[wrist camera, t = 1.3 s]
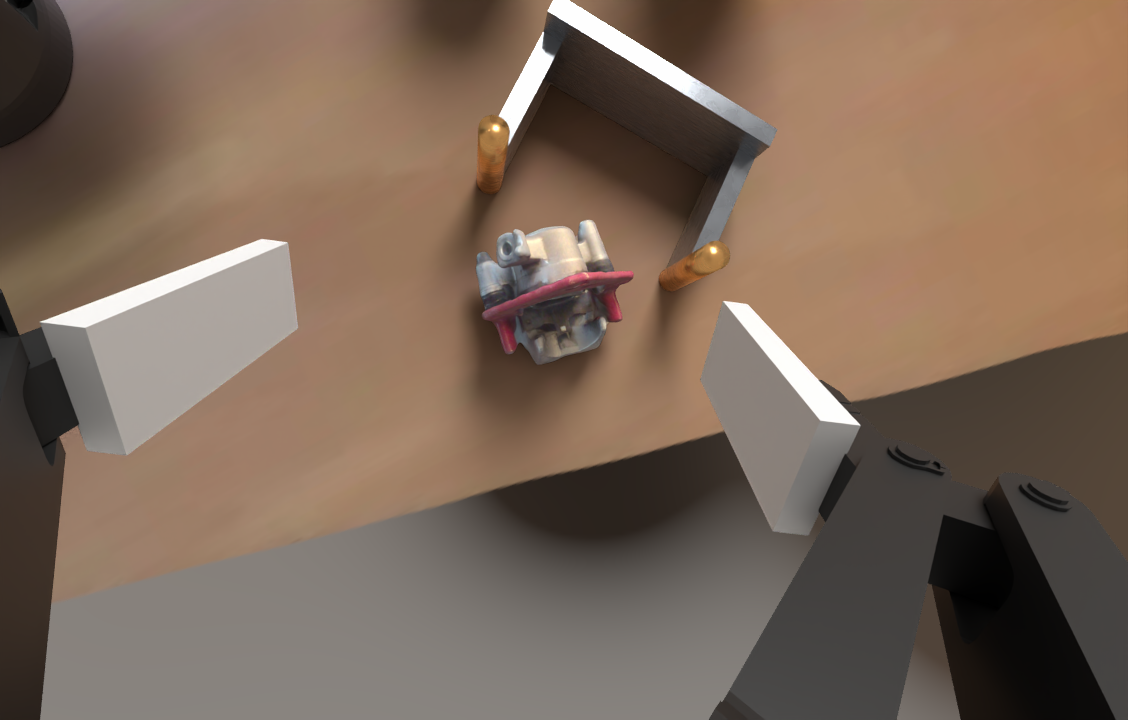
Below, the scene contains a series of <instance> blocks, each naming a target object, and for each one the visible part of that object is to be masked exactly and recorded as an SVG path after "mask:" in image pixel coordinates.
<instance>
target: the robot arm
mask: <svg viewBox="0 0 1128 720" xmlns="http://www.w3.org/2000/svg"><path fill="white" fill-rule="evenodd" d="M72 55H73V51H72V41H71V36H70V32H69V28H68V25H67V22H66V20H65V17H64V15H63V13H62V11H61V9H60V7H59V6H58V4H57V3H56V1H55V0H0V146H3V145H5V144H8V143H10V142H12V141H14V140H16V139H18V138H20V137H21V136H23V135H25V134H26V133H28V132H29V131H31V130H32V129H34V128H35V127H36V126H37V125H38V124H40V123H41V122H42V121H43V120H44V119H45V118H46V117H47V116H48V115H49V114H50V113H51V111H52V110H53V109H54V108H55V106H56V105H57V103H58V102H59V100H60V99H61V97H62V95H63V93H64V91H65V89H66V86H67V84H68V81H69V77H70V73H71V68H72ZM40 324H41V327H40V328H38V329H35V330H32V331H30V332H27V333H25V334H22V335H19V333H18V331H17V328H16V326H15V323H14V320H13V318H12V315H11V313H10V310H9V308H8V305H7V303H6V300H5V297H4V295H3V293H2V291H1V289H0V720H40V714H41V703H42V693H43V682H44V672H45V662H46V651H47V641H48V631H49V621H50V609H51V600H52V589H53V579H54V568H55V558H56V548H57V537H58V527H59V516H60V506H61V496H62V485H63V475H64V464H65V454H66V453H65V450H64V448H63V445H62V443H61V440H60V438H59V436H61V435H62V434H64V433H66V432H67V431H69V430H70V429H72V428H74V427H75V426H77V425H78V427H79V430H80V433H81V436H82V438H83V441H84V444H85V447H86V449H87V451H93V452H101V453H110V454H118V455H128V454H129V453H131V452H132V451H133V450H135V449H136V448H137V447H139V446H140V445H142V444H143V443H144V442H146V441H147V440H148V439H150V438H151V437H152V436H154V435H155V434H156V433H158V432H159V431H160V430H162V429H163V428H164V427H166V426H167V425H168V424H170V423H171V422H172V421H174V420H175V419H177V418H178V417H179V416H181V415H182V414H183V413H185V412H186V411H187V410H189V409H190V408H191V407H193V406H194V405H195V404H197V403H198V402H199V401H201V400H202V399H203V398H205V397H206V396H208V395H209V394H210V393H212V392H213V391H214V390H216V389H217V388H218V387H220V386H221V385H222V384H224V383H225V382H226V381H228V380H229V379H230V378H232V377H233V376H234V375H236V374H237V373H238V372H240V371H241V370H243V369H244V368H245V367H247V366H248V365H249V364H251V363H252V362H253V361H255V360H256V359H257V358H259V357H260V356H261V355H263V354H264V353H265V352H267V351H268V350H269V349H271V348H272V347H273V346H275V345H276V344H278V343H279V342H280V341H282V340H283V339H284V338H286V337H287V336H288V335H290V334H291V333H292V332H294V331H295V330H296V329H298V323H297V314H296V306H295V297H294V289H293V280H292V272H291V263H290V255H289V246H288V242H280V241H273V240H265V239H261V240H258V241H255V242H253V243H250V244H247V245H245V246H242V247H239V248H236V249H234V250H231V251H228V252H226V253H223V254H220V255H218V256H215V257H212V258H210V259H207V260H204V261H202V262H199V263H196V264H194V265H191V266H188V267H186V268H183V269H180V270H178V271H175V272H172V273H170V274H167V275H164V276H162V277H159V278H156V279H154V280H151V281H148V282H146V283H143V284H140V285H138V286H135V287H132V288H129V289H127V290H124V291H121V292H119V293H116V294H113V295H111V296H108V297H105V298H103V299H100V300H97V301H95V302H92V303H89V304H87V305H84V306H81V307H79V308H76V309H73V310H71V311H68V312H65V313H63V314H60V315H57V316H55V317H52V318H49V319H47V320H44V321H41V322H40ZM700 380H701V382H702V384H703V387H704V389H705V391H706V393H707V395H708V397H709V399H710V401H711V403H712V405H713V407H714V410H715V412H716V414H717V416H718V418H719V420H720V422H721V424H722V426H723V428H724V431H725V433H726V435H727V436H728V439H729V441H730V443H731V445H732V447H733V449H734V451H735V454H736V456H737V458H738V460H739V462H740V464H741V466H742V468H743V470H744V472H745V474H746V477H747V478H748V481H749V483H750V485H751V487H752V489H753V491H754V493H755V495H756V497H757V500H758V502H759V504H760V506H761V508H762V510H763V512H764V514H765V516H766V518H767V520H768V523H769V525H770V527H771V529H772V531H775V532H784V533H792V534H801V535H809V533H810V531H811V529H812V527H813V525H814V523H815V521H816V518H817V516H818V514H819V513H820V514H821V516H822V517H823V519H824V521H825V522H826V523H825V524H824V526H823V528H822V530H821V531H820V533H819V535H818V537H817V538H816V540H815V542H814V543H813V546H812V547H811V549H810V551H809V552H808V554H807V556H806V557H805V559H804V561H803V563H802V564H801V566H800V568H799V570H798V571H797V573H796V575H795V577H794V578H793V580H792V582H791V584H790V585H789V587H788V589H787V591H786V592H785V594H784V596H783V598H782V599H781V601H780V603H779V605H778V606H777V608H776V610H775V612H774V613H773V615H772V617H771V619H770V620H769V622H768V624H767V626H766V628H765V629H764V631H763V633H762V634H761V636H760V638H759V640H758V641H757V643H756V645H755V647H754V648H753V650H752V652H751V654H750V655H749V657H748V659H747V661H746V662H745V664H744V666H743V668H742V669H741V671H740V673H739V675H738V676H737V678H736V680H735V681H734V683H733V685H732V687H731V688H730V690H729V692H728V694H727V695H726V697H725V699H724V700H723V702H721V701H720V703H719V704H718V706H717V707H716V708H715V710H714V712H713V713H712V715H711V717H710V719H709V720H897V715H898V711H899V706H900V702H901V698H902V694H903V689H904V685H905V680H906V676H907V672H908V667H909V663H910V658H911V654H912V649H913V645H914V640H915V637H916V632H917V628H918V623H919V619H920V614H921V610H922V606H923V601H924V597H925V592H926V588H927V584H928V583H929V584H932V588H933V592H934V598H935V602H936V607H937V612H938V616H939V620H940V626H941V630H942V634H943V639H944V644H945V648H946V653H947V658H948V663H949V667H950V672H951V676H952V681H953V686H954V691H955V695H956V700H957V705H958V709H959V714H960V719H961V720H1128V562H1127V561H1126V560H1125V558H1124V557H1123V555H1122V554H1121V552H1120V551H1119V549H1118V548H1117V547H1116V545H1115V544H1114V542H1113V541H1112V540H1111V539H1110V537H1109V535H1108V534H1107V533H1106V531H1105V530H1104V528H1103V527H1102V526H1101V524H1100V523H1099V521H1098V520H1097V519H1096V517H1095V516H1094V514H1093V513H1092V512H1091V511H1090V510H1089V509H1088V508H1087V507H1086V506H1085V505H1084V504H1083V503H1082V502H1080V501H1079V500H1077V499H1076V498H1074V497H1073V496H1071V495H1070V493H1069V492H1068V491H1066V490H1064V489H1062V488H1061V487H1056V485H1055V484H1052V483H1050V482H1048V481H1041V480H1039V479H1036V478H1033V477H1030V476H1026V475H1022V474H1018V473H1003V474H1001V475H1000V476H998V477H997V479H996V481H995V482H994V484H993V485H992V487H991V488H990V490H989V491H985V490H982V489H979V488H975V487H972V486H968V485H965V484H962V483H958V482H955V481H952V480H951V478H952V476H951V472H950V470H949V468H948V467H947V466H946V465H945V464H944V463H943V462H942V461H940V460H939V459H938V458H936V457H935V456H934V455H932V454H931V453H929V452H927V451H925V450H923V449H921V448H919V447H917V446H915V445H912V444H909V443H906V442H903V441H900V440H894V439H889V438H884V437H883V436H882V435H881V433H880V432H879V431H877V429H876V428H875V427H874V426H873V425H872V424H871V423H870V422H869V421H868V420H867V419H866V418H865V417H864V416H863V415H860V412H859V411H858V410H857V409H856V408H855V407H854V406H853V405H851V403H850V402H849V401H848V400H847V399H846V398H845V396H844V395H843V394H842V393H841V392H840V391H838V390H837V389H835V388H833V387H832V386H830V385H829V384H827V383H825V382H824V381H822V380H818V379H817V378H816V377H815V376H814V375H813V374H812V373H811V372H810V371H809V370H808V369H807V367H806V366H805V365H804V364H803V363H802V362H801V361H800V360H799V359H798V358H797V357H796V356H795V355H794V354H793V352H792V351H791V350H790V349H789V348H788V347H787V346H786V345H785V344H784V343H783V342H782V341H781V340H780V339H779V337H778V336H777V335H776V334H775V333H774V332H773V331H772V330H771V329H770V328H769V327H768V326H767V325H766V324H765V322H764V321H763V320H762V319H761V318H760V317H759V316H758V315H757V314H756V313H755V312H754V311H753V310H752V309H751V307H750V306H749V305H748V304H742V303H734V302H727V301H723V303H722V306H721V310H720V313H719V317H718V320H717V323H716V327H715V330H714V334H713V337H712V341H711V344H710V348H709V351H708V355H707V358H706V361H705V365H704V368H703V372H702V375H701V379H700Z"/></svg>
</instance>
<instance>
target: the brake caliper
mask: <svg viewBox="0 0 1128 720" xmlns="http://www.w3.org/2000/svg"><path fill="white" fill-rule="evenodd" d="M497 260H498V264H497V263H495V262H494V261H493V260H492V259H491V258H490V256H489V255H488V253H486V252H480V253H479V254H478V255H477V265H476V274H477V277H478V281H479V289H480V295H481V298H482V301H483V303H484V306H485V311H484V312H483V314H482V318H483V319H484V320H488V321H491V322H493V323H494V325H495V326H496V328H497V330H498V333H499V336H500V340H501V344H502V347H503V349H504V352H505V353H506V354H512V353H514V352H515V350H516V347H517V345H518V343H522V344H523V346H524V347H525V348H526V349H527V350H528V351H529V353H530V354H531V356H532V358H533V360H534V361H535V363H536V364H538V365H541V364H545V363H549V362H553V361H555V360H557V359H560V358H562V357H564V356H567V355H571V354H576V353H581V352H585V351H588V350H592V349H596V348H597V347H598V346H599V345H600V343H601V341H602V338H603V336H604V335H605V333H606V325H607V324H608V323H609V322H619V321H621V320H622V313H621V310H620V307H619V304H618V301H617V299H616V295H615V291H616V289H617V288H618V286H619V285H621V284H625V283H627V282H629V281H630V280H632V279H633V276H634V275H633V272H632V271H626V272H623V271H618V272H615V271H614V268H613V266H612V264H611V262H610V260H609V257H608V255H607V253H606V250H605V248H604V245H603V242H602V240H601V238H600V235H599V233H598V230H597V227H596V225H595V223H594V222H593V221H592V220H584V221H582V222H581V223H580V225H579V231H578V235H577V236H576V238H575V236H574V233H573V231H572V230H571V229H569V228H567V227H564V226H555V227H547V228H542V229H539V230H537V231H534V232H532V233H530V234H528V235H524V233H523V232H522V231H520V230H518V229H515V230H514V231H513V233H505V234H503V235H501V236H500V237H499V238H498V240H497Z"/></svg>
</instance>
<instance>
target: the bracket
mask: <svg viewBox="0 0 1128 720" xmlns="http://www.w3.org/2000/svg"><path fill="white" fill-rule="evenodd" d="M550 85H553V86H555V87H556V88H558V89H560V90H562V91H563V92H565V93H567V94H568V95H570V96H572V97H573V98H575V99H577V100H579V101H580V102H582V103H584V104H585V105H587V106H589V107H591V108H592V109H594V110H596V111H597V112H599V113H601V114H603V115H604V116H606V117H608V118H609V119H611V120H613V121H614V122H616V123H618V124H620V125H621V126H623V127H625V128H626V129H628V130H630V131H632V132H633V133H635V134H637V135H638V136H640V137H642V138H643V139H645V140H647V141H649V142H650V143H652V144H654V145H655V146H657V147H659V148H661V149H662V150H664V151H666V152H667V153H669V154H671V155H672V156H674V157H676V158H678V159H679V160H681V161H683V162H684V163H686V164H688V165H690V166H691V167H693V168H695V169H696V170H698V171H700V172H702V173H703V174H705V175H707V176H708V177H707V180H706V182H705V184H704V186H703V188H702V191H701V193H700V195H699V197H698V199H697V202H696V204H695V206H694V208H693V210H692V213H691V215H690V217H689V219H688V221H687V224H686V226H685V228H684V230H683V232H682V235H681V237H680V239H679V241H678V243H677V246H676V248H675V250H674V252H673V254H672V257H671V259H670V261H669V263H668V265H667V268H666V269H665V270H663V271H662V272H661V274H660V277H659V282H660V285H661V286H662V288H663V289H665V290H667V291H675V290H677V289H679V288H682V287H684V286H686V285H688V284H690V283H692V282H694V281H696V280H698V279H700V278H703V277H705V276H707V275H709V274H711V273H713V272H715V271H717V270H719V269H722V268H723V267H725V266H726V265H727V264H728V262H729V259H730V253H729V250H728V248H727V246H726V245H725V244H724V243H722V242H720V241H718V240H719V238H720V236H721V234H722V231H723V229H724V227H725V225H726V222H727V220H728V218H729V215H730V213H731V211H732V209H733V206H734V204H735V202H736V200H737V197H738V195H739V193H740V191H741V188H742V186H743V184H744V182H745V179H746V177H747V175H748V172H749V170H750V168H751V166H752V163H753V161H754V159H755V158H756V157H757V156H759V155H760V154H761V153H762V152H764V151H765V150H766V149H767V148H768V147H770V145H771V143H772V141H773V138H774V136H775V134H776V131H777V129H776V128H774V127H773V126H771V125H769V124H768V123H766V122H764V121H763V120H761V119H760V118H758V117H756V116H755V115H753V114H751V113H750V112H748V111H747V110H745V109H743V108H742V107H740V106H739V105H737V104H735V103H734V102H732V101H730V100H729V99H727V98H726V97H724V96H722V95H721V94H719V93H717V92H716V91H714V90H713V89H711V88H709V87H708V86H706V85H705V84H703V83H701V82H700V81H698V80H696V79H695V78H693V77H692V76H690V75H688V74H687V73H685V72H683V71H682V70H680V69H679V68H677V67H675V66H674V65H672V64H671V63H669V62H667V61H666V60H664V59H662V58H661V57H659V56H658V55H656V54H654V53H653V52H651V51H649V50H648V49H646V48H645V47H643V46H641V45H640V44H638V43H636V42H635V41H633V40H632V39H630V38H628V37H627V36H625V35H624V34H622V33H620V32H619V31H617V30H615V29H614V28H612V27H611V26H609V25H607V24H606V23H604V22H602V21H601V20H599V19H598V18H596V17H594V16H593V15H591V14H590V13H588V12H586V11H585V10H583V9H581V8H580V7H578V6H577V5H575V4H573V3H572V2H570V1H568V0H554V1H553V2H552V4H551V6H550V8H549V10H548V13H547V18H546V23H545V28H544V32H543V34H542V36H541V38H540V40H539V41H538V43H537V45H536V47H535V49H534V51H533V53H532V55H531V57H530V58H529V60H528V62H527V64H526V66H525V68H524V70H523V72H522V73H521V75H520V77H519V79H518V81H517V83H516V85H515V87H514V89H513V90H512V92H511V94H510V96H509V98H508V100H507V102H506V104H505V105H504V107H503V109H502V111H501V113H500V115H499V116H496V115H489V116H486V117H485V118H483V119H482V120H481V122H480V124H479V128H478V159H477V185H478V187H479V188H480V190H481V191H483V192H484V193H487V194H494V193H496V192H498V191H499V190H500V188H501V186H502V180H503V176H504V174H505V172H506V170H507V168H508V166H509V164H510V162H511V160H512V158H513V156H514V154H515V152H516V151H517V149H518V147H519V145H520V143H521V141H522V139H523V137H524V135H525V133H526V131H527V129H528V127H529V126H530V124H531V122H532V120H533V118H534V116H535V114H536V112H537V110H538V108H539V106H540V104H541V102H542V100H543V99H544V97H545V95H546V93H547V91H548V89H549V87H550Z"/></svg>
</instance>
